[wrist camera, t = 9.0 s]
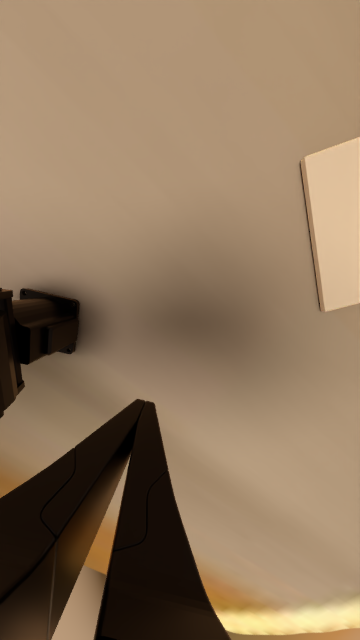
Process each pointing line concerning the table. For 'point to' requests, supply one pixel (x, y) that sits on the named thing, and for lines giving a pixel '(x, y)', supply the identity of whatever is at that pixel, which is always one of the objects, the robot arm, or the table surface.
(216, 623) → the robot arm
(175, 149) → the table surface
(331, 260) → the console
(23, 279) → the table surface
